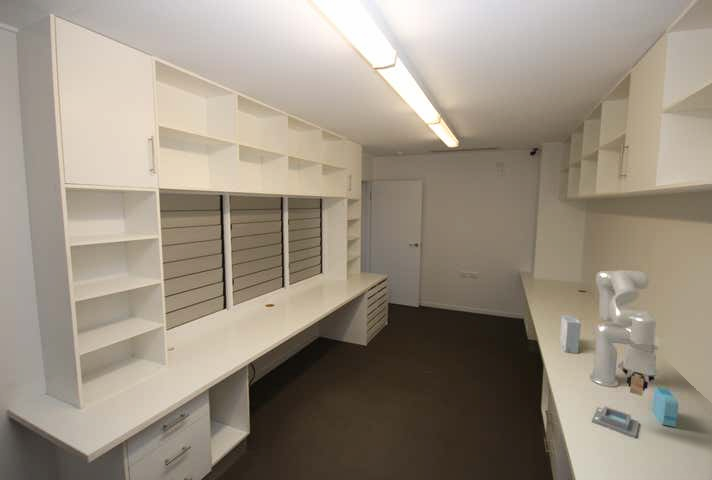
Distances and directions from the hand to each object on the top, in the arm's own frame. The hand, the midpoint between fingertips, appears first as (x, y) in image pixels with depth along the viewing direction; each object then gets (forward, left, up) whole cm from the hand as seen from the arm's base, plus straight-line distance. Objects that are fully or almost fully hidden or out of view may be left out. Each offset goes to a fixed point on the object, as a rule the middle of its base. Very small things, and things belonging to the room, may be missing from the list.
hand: (636, 386), depth 144 cm
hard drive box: (-73, -40, -19) cm, 85 cm away
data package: (-18, +9, -19) cm, 28 cm away
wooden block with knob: (0, 0, -2) cm, 2 cm away
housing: (0, -6, -19) cm, 20 cm away
